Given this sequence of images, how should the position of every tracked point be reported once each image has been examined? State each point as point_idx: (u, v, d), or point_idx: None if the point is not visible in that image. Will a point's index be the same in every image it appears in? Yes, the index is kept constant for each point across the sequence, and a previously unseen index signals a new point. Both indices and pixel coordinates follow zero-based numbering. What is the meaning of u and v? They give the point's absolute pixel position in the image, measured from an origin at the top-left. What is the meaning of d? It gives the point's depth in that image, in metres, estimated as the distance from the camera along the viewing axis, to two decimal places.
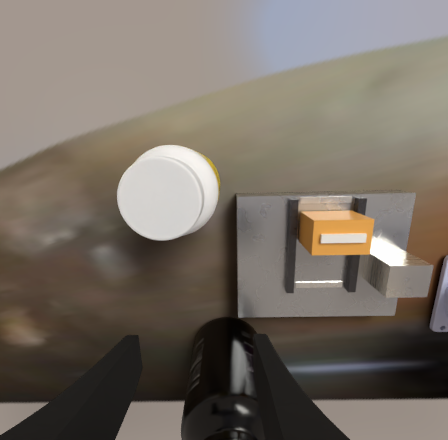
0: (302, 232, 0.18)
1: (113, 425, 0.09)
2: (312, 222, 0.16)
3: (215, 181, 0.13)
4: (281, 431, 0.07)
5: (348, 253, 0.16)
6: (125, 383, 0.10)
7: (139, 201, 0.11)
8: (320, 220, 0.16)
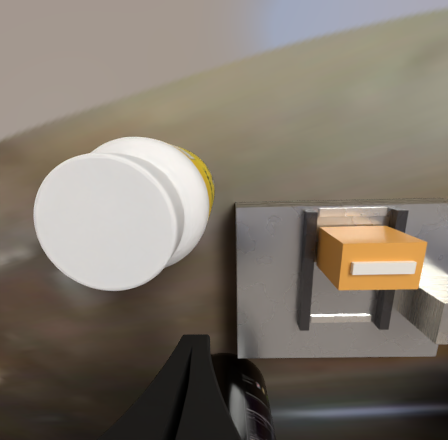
0: (322, 255, 0.14)
1: None
2: (340, 245, 0.12)
3: (203, 191, 0.09)
4: (177, 431, 0.07)
5: (389, 287, 0.12)
6: None
7: (71, 229, 0.06)
8: (351, 243, 0.11)
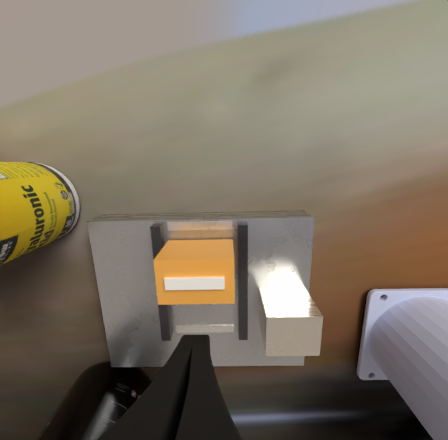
0: None
1: None
2: (155, 261, 0.12)
3: None
4: (177, 432, 0.07)
5: (206, 302, 0.12)
6: None
7: None
8: (163, 259, 0.12)
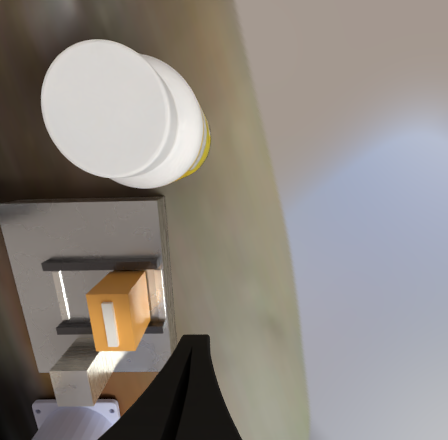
0: (119, 276, 0.16)
1: None
2: (126, 291, 0.14)
3: (157, 186, 0.10)
4: (177, 431, 0.07)
5: (94, 331, 0.14)
6: None
7: (99, 78, 0.07)
8: (128, 300, 0.14)
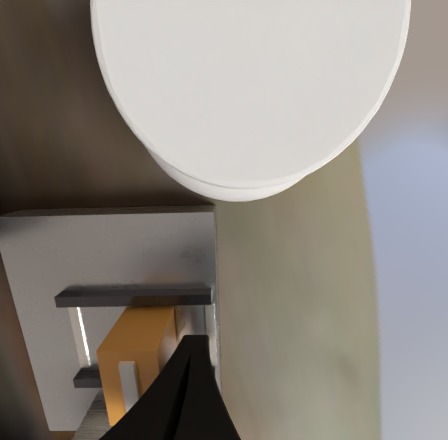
0: (139, 315, 0.12)
1: None
2: (154, 345, 0.10)
3: (263, 197, 0.06)
4: (176, 431, 0.07)
5: (107, 400, 0.10)
6: None
7: None
8: (157, 358, 0.10)
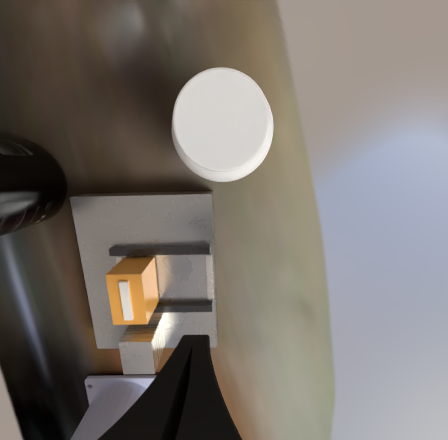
0: (132, 260, 0.18)
1: None
2: (139, 272, 0.16)
3: (234, 179, 0.13)
4: (177, 431, 0.07)
5: (111, 306, 0.17)
6: None
7: (219, 96, 0.09)
8: (142, 279, 0.16)
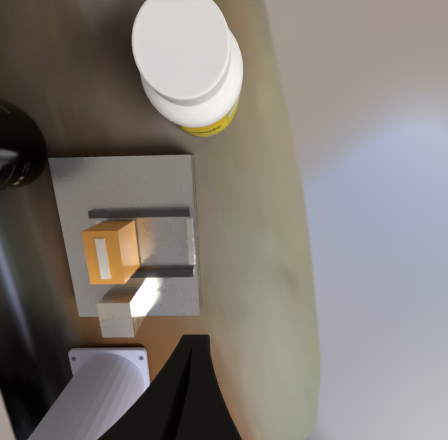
0: (111, 222, 0.18)
1: None
2: (116, 229, 0.16)
3: (205, 123, 0.12)
4: (177, 431, 0.07)
5: (88, 265, 0.17)
6: None
7: (178, 17, 0.09)
8: (118, 236, 0.16)
